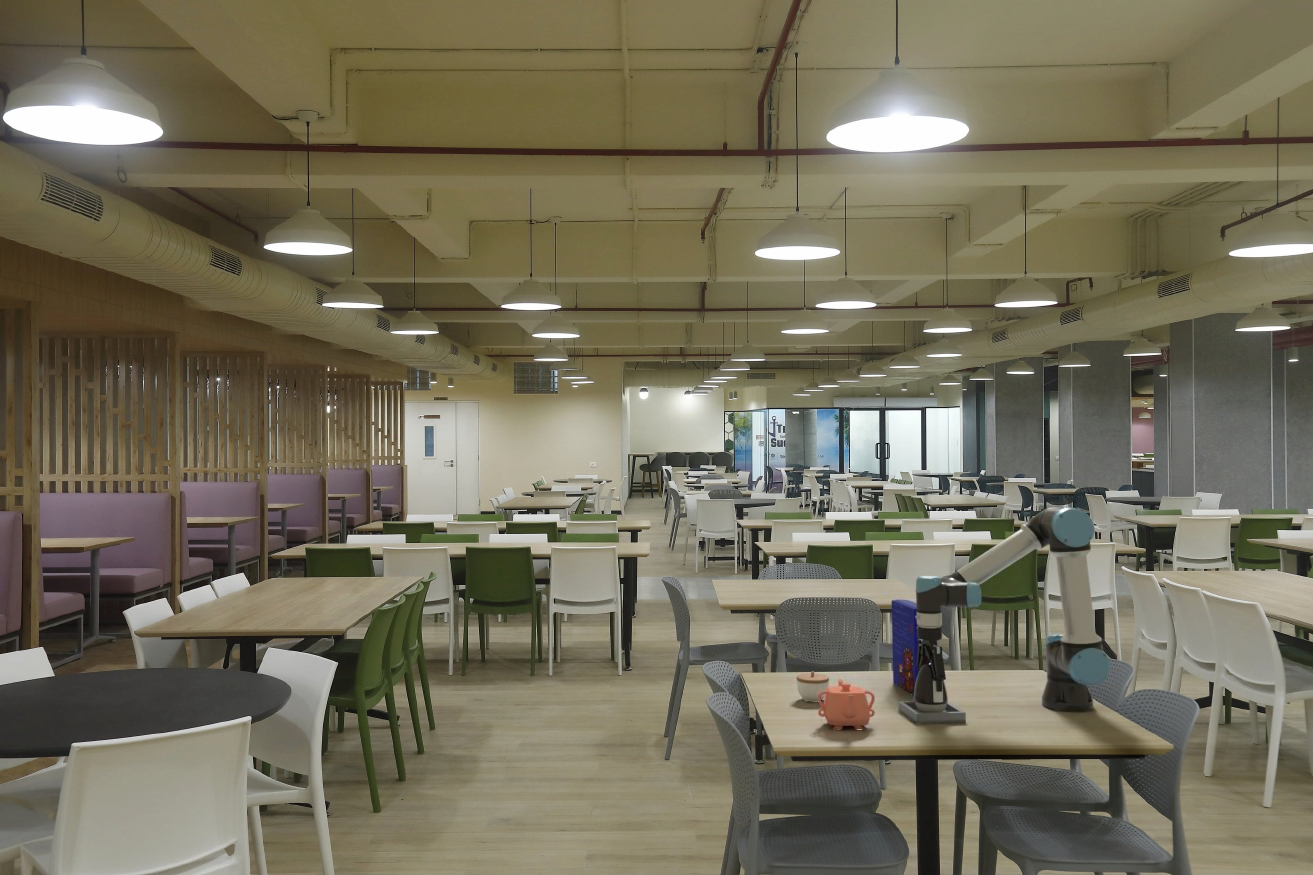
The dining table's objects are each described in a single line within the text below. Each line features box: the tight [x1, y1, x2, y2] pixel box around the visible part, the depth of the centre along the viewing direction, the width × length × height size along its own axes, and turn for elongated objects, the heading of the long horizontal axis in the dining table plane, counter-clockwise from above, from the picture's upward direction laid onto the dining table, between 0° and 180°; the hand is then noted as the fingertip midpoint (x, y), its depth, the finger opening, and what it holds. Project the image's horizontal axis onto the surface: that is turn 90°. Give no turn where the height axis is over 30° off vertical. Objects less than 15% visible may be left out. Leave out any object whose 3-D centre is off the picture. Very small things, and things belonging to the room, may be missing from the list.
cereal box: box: [891, 599, 930, 697], centre depth 316 cm, size 22×6×30 cm, turn 5°
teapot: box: [817, 678, 876, 730], centre depth 271 cm, size 15×17×13 cm
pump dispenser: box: [913, 663, 949, 713], centre depth 280 cm, size 10×10×15 cm
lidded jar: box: [796, 671, 830, 703], centre depth 302 cm, size 11×11×9 cm
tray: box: [897, 700, 967, 725], centre depth 280 cm, size 15×15×3 cm
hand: (931, 697), depth 280 cm, fingers open, 11 cm apart
